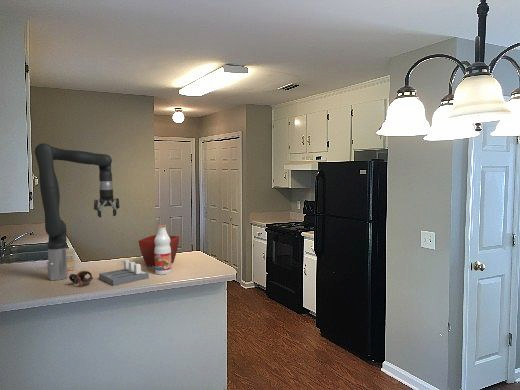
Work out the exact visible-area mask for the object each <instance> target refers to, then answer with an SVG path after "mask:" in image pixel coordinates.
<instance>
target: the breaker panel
mask: <svg viewBox="0 0 520 390" xmlns="http://www.w3.org/2000/svg"><path fill="white" fill-rule="evenodd" d="M149 277H150V276H149V272H146V271H144V270H142V269H141V273H140V274H135V273H134V272H130V271H129V270H125V269H124V268H122V269H117V270H112V271H111V270H110V271H107V272H100V273H98V279H99V280H101V281H103V282H105V283H107V284H109V285H111V286H113V287H115V286H119V285H124V284H128V283H134V282H138V281H142V280H149V279H150V278H149Z"/></svg>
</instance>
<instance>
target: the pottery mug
mask: <svg viewBox="0 0 520 390" xmlns="http://www.w3.org/2000/svg"><path fill="white" fill-rule="evenodd" d="M87 275H89V277H88V278H86V276H87ZM93 277H94V276H93V275H92V273H91V272H90V271H89V270H88V271H87V270H81V271H78V272H77V274H75V273H70V275H69V276H68V279H69V280H70V282H71V283H73V284H74V285H75V284H78V287H80V288H82V287H83V286H85V285H87V284H89V283H91V282H92V281H93V280H94V278H93Z"/></svg>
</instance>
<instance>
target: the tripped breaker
mask: <svg viewBox="0 0 520 390" xmlns="http://www.w3.org/2000/svg"><path fill="white" fill-rule="evenodd" d="M134 264H136V261H130V262H129V271H130V272H134Z"/></svg>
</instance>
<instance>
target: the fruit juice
mask: <svg viewBox="0 0 520 390" xmlns="http://www.w3.org/2000/svg"><path fill="white" fill-rule="evenodd" d="M169 236H170V235H169V234H168V232H167V224H158V225H157V233H156V237H155V239H154V242H155V249H154V254H155V267H154V271H155V274H156V275H161V276H163V275H169V274H171V273H172V269H173V268H172V267H173V266H172V263H171V247H170V237H169Z"/></svg>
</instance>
